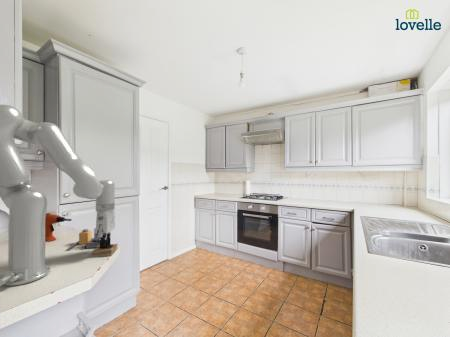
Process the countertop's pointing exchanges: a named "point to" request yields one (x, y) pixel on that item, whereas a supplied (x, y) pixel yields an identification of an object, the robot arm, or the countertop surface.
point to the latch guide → (76, 245)
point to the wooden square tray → (104, 251)
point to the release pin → (84, 237)
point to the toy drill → (49, 228)
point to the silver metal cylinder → (96, 236)
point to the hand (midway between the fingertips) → (105, 246)
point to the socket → (92, 244)
